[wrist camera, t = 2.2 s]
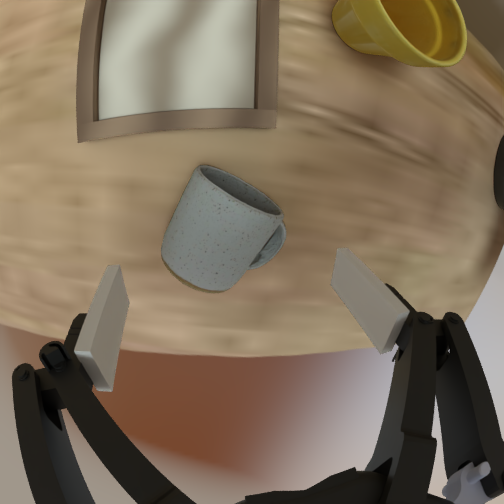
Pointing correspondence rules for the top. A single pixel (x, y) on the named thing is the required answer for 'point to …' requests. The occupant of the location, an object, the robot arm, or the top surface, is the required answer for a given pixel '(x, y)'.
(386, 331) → the robot arm
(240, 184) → the ceramic mug
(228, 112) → the coaster tray
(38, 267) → the top surface
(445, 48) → the plant pot
